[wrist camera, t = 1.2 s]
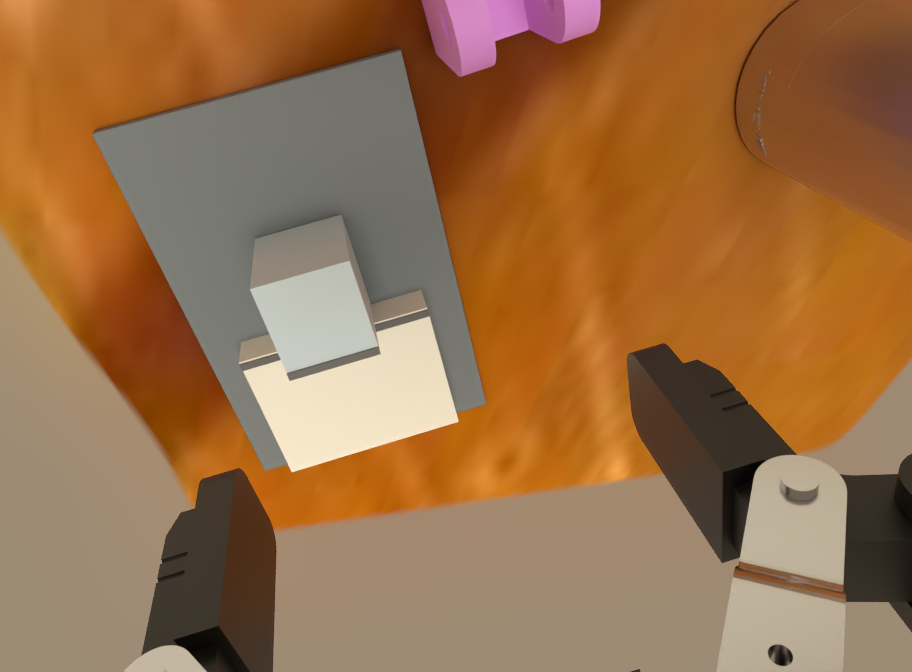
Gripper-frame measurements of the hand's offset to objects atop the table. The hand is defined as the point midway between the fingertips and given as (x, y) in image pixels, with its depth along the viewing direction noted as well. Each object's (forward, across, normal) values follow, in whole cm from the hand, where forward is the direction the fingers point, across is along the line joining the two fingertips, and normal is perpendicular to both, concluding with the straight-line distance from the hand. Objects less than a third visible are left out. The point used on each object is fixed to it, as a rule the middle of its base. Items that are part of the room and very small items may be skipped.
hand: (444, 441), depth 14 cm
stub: (+23, +4, +6) cm, 24 cm away
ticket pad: (+23, +4, +7) cm, 24 cm away
